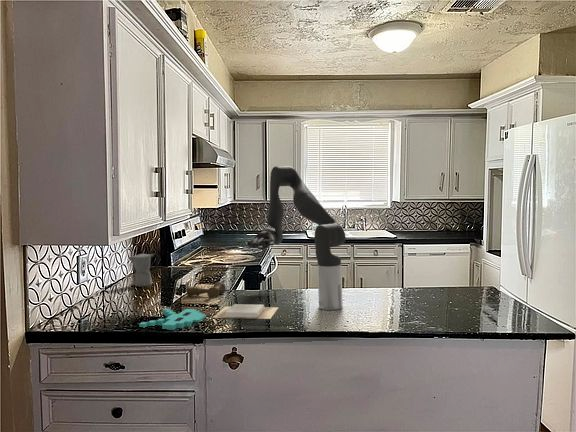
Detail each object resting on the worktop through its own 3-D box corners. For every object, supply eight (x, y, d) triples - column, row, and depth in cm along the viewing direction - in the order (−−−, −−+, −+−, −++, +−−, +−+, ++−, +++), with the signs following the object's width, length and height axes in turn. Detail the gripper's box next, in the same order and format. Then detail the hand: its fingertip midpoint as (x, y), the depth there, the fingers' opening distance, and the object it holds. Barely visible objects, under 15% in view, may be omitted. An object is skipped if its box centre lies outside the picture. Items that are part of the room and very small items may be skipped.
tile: (264, 304, 178) (257, 312, 167) (264, 309, 178) (257, 318, 168) (234, 304, 180) (225, 312, 170) (234, 309, 181) (225, 317, 170)
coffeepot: (130, 288, 230) (128, 252, 228) (129, 284, 238) (127, 250, 237) (162, 284, 235) (160, 249, 234) (159, 281, 244) (158, 247, 243)
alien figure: (139, 330, 163) (192, 331, 159) (139, 323, 163) (191, 325, 159) (165, 313, 183) (212, 315, 179) (165, 308, 183) (212, 309, 179)
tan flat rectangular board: (278, 309, 181) (278, 307, 181) (270, 321, 166) (270, 318, 166) (225, 308, 185) (225, 306, 185) (212, 320, 170) (212, 317, 170)
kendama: (192, 294, 214) (233, 294, 210) (184, 300, 204) (227, 300, 201) (191, 282, 213) (232, 281, 209) (183, 287, 204) (226, 286, 200)
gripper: (249, 232, 206) (238, 236, 189) (278, 231, 204) (269, 236, 187) (250, 248, 207) (239, 254, 190) (278, 248, 205) (270, 254, 188)
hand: (254, 245), depth 189 cm, fingers closed
